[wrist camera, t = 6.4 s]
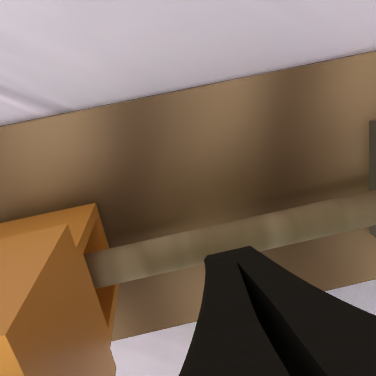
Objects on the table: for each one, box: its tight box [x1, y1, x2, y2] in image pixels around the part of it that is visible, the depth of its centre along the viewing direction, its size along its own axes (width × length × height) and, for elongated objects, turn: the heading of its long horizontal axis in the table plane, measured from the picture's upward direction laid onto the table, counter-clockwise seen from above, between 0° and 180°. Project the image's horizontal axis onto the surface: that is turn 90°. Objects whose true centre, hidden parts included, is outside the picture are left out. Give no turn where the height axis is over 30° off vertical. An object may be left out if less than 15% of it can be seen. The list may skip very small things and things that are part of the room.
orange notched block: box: [0, 203, 119, 376], centre depth 9 cm, size 4×5×8 cm
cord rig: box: [0, 51, 376, 341], centre depth 11 cm, size 24×10×6 cm, turn 101°
